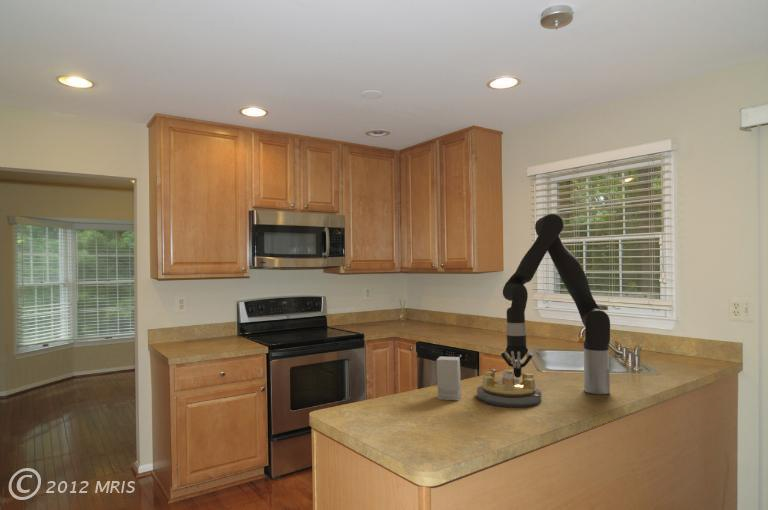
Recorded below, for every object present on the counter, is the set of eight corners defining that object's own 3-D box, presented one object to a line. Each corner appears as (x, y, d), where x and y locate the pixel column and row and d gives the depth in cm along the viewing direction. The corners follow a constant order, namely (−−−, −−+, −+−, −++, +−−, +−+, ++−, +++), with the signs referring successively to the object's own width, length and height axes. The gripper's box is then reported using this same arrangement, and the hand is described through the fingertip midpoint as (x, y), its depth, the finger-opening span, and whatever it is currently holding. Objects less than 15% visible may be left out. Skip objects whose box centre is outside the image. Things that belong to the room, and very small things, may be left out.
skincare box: (461, 396, 195) (461, 356, 195) (458, 401, 188) (457, 360, 188) (440, 395, 197) (440, 355, 197) (436, 399, 191) (436, 358, 191)
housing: (541, 392, 200) (541, 384, 200) (541, 410, 177) (541, 401, 177) (480, 388, 207) (480, 380, 207) (473, 404, 184) (472, 395, 184)
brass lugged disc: (534, 384, 199) (534, 368, 199) (537, 398, 180) (537, 380, 180) (483, 382, 204) (483, 366, 204) (480, 395, 185) (480, 377, 185)
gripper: (535, 332, 199) (536, 376, 199) (502, 331, 205) (503, 373, 205) (531, 335, 192) (532, 380, 192) (497, 334, 199) (498, 377, 198)
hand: (517, 377), depth 199 cm, fingers closed
